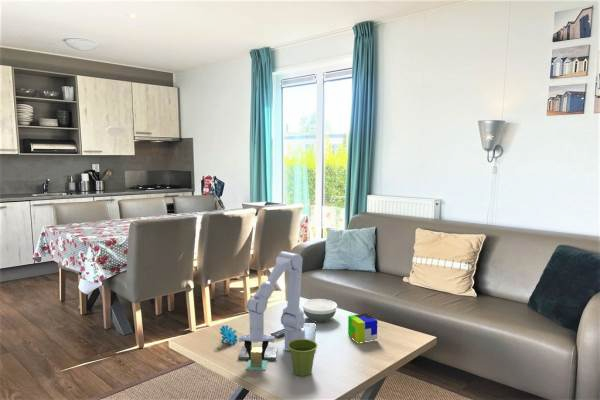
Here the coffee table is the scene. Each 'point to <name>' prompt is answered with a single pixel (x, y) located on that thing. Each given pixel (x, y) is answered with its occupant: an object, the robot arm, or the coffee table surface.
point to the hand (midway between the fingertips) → (256, 358)
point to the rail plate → (269, 354)
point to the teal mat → (256, 366)
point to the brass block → (256, 356)
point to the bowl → (319, 309)
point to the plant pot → (302, 355)
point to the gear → (228, 334)
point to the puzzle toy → (362, 327)
